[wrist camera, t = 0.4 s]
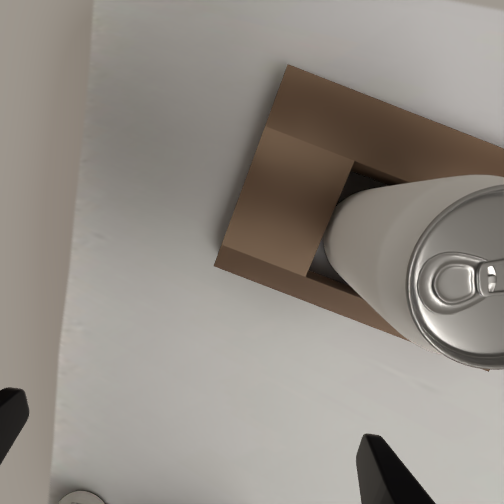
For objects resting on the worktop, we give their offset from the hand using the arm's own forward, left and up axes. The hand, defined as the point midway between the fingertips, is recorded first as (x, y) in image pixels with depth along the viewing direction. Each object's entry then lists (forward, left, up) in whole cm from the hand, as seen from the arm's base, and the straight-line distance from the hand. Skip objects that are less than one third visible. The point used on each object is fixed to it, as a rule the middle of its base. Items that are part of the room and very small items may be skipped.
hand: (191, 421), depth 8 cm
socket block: (+3, -9, -14) cm, 17 cm away
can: (+3, -9, -14) cm, 17 cm away
